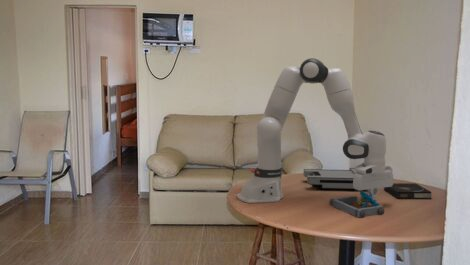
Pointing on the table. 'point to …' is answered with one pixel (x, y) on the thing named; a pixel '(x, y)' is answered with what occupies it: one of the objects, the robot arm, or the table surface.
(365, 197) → the gear
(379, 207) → the u-shaped wheeled base
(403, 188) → the portable cd player
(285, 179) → the table surface
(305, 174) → the game console
